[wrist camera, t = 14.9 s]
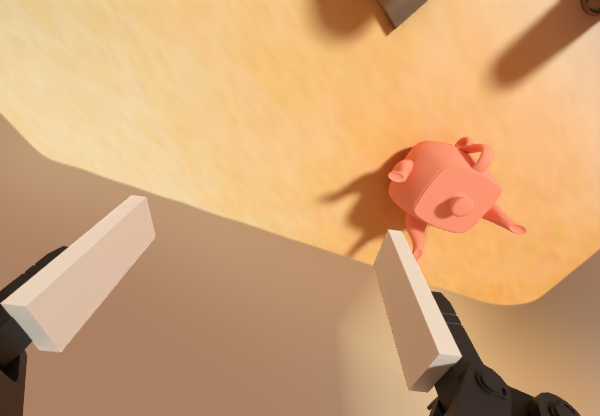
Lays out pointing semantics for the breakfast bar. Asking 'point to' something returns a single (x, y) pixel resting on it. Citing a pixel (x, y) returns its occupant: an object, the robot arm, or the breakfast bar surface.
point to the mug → (591, 6)
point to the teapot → (447, 189)
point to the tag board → (399, 9)
